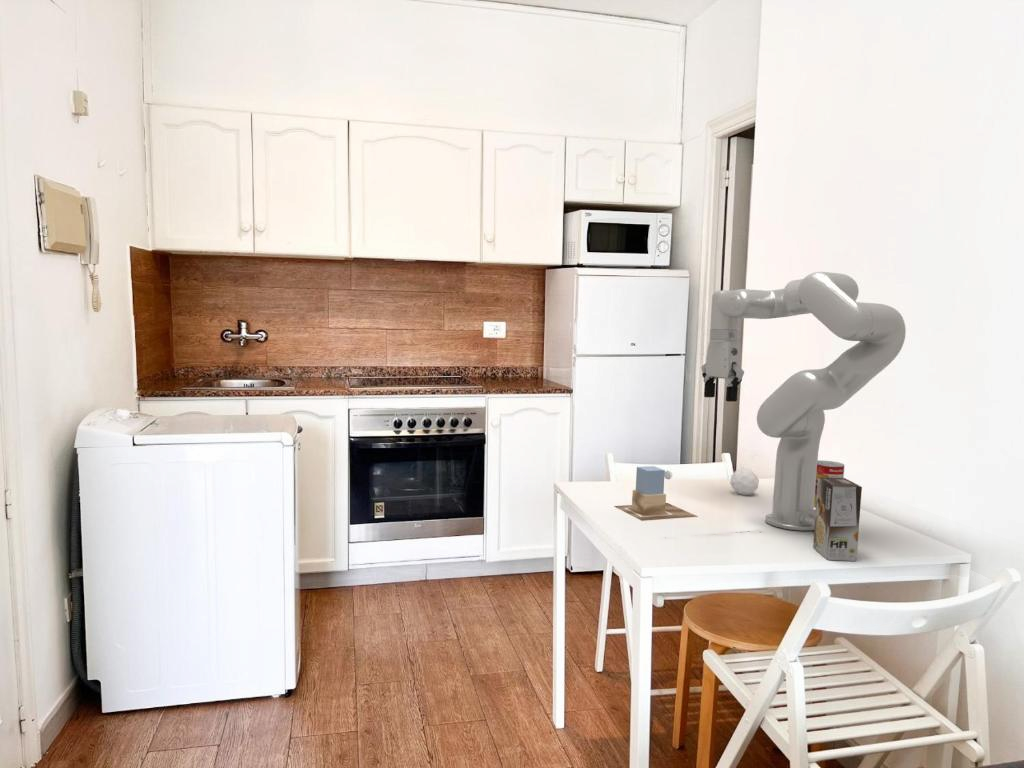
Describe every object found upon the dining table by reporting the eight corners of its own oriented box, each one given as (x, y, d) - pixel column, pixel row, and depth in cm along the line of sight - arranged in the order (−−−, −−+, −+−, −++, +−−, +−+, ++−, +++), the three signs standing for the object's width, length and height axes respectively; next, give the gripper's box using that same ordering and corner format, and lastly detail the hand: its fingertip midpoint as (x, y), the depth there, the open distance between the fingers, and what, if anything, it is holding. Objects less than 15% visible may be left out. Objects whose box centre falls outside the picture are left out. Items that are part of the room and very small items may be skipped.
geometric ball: (749, 505, 216) (761, 487, 210) (723, 492, 217) (734, 474, 212) (754, 488, 221) (765, 470, 216) (729, 476, 223) (739, 458, 218)
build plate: (697, 521, 185) (698, 516, 185) (641, 525, 180) (641, 520, 180) (666, 507, 198) (667, 502, 198) (613, 510, 193) (613, 505, 193)
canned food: (823, 501, 212) (827, 459, 210) (847, 508, 205) (850, 465, 203) (803, 503, 208) (807, 461, 207) (827, 510, 201) (830, 466, 200)
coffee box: (857, 561, 158) (863, 486, 157) (827, 560, 158) (832, 485, 157) (840, 548, 167) (845, 477, 166) (811, 547, 167) (816, 476, 166)
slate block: (663, 493, 186) (664, 470, 186) (646, 495, 185) (647, 470, 184) (652, 489, 191) (653, 466, 190) (635, 490, 189) (636, 466, 189)
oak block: (665, 514, 187) (666, 494, 186) (643, 515, 184) (645, 495, 184) (652, 507, 192) (653, 488, 192) (631, 509, 190) (632, 489, 190)
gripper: (756, 338, 197) (752, 402, 198) (716, 335, 213) (712, 395, 214) (732, 337, 194) (728, 403, 195) (693, 334, 210) (690, 395, 211)
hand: (720, 399), depth 205 cm, fingers open, 9 cm apart
